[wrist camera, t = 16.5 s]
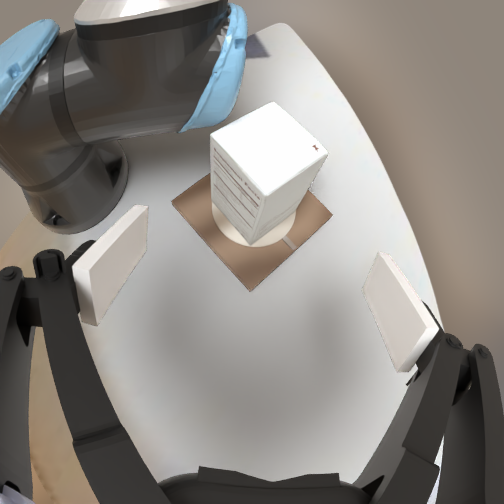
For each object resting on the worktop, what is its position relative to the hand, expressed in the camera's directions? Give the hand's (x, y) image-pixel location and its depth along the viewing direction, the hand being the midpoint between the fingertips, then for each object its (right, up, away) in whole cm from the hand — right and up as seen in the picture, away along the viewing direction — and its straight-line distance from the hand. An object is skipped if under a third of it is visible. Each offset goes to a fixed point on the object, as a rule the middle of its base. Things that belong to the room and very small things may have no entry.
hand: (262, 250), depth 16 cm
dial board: (0, +5, +20) cm, 21 cm away
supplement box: (0, +5, +19) cm, 20 cm away
